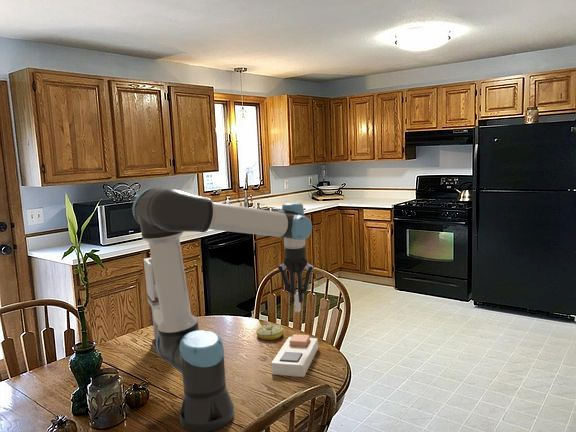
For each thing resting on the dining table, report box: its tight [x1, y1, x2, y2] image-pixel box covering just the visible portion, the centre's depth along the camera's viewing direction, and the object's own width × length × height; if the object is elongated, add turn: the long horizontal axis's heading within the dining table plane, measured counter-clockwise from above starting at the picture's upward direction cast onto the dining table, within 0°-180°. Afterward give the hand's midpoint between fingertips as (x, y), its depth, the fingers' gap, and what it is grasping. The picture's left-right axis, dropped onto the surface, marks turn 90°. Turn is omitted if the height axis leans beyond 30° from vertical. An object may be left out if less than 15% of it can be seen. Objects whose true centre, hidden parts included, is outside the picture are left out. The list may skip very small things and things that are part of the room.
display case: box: [143, 257, 162, 356], centre depth 176 cm, size 11×11×35 cm
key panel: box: [270, 336, 319, 378], centre depth 160 cm, size 22×11×4 cm, turn 164°
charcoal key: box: [280, 352, 302, 362], centre depth 154 cm, size 6×6×3 cm
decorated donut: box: [255, 323, 284, 341], centre depth 184 cm, size 10×11×4 cm
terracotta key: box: [290, 333, 311, 347], centre depth 166 cm, size 6×6×3 cm
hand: (298, 310), depth 164 cm, fingers closed
